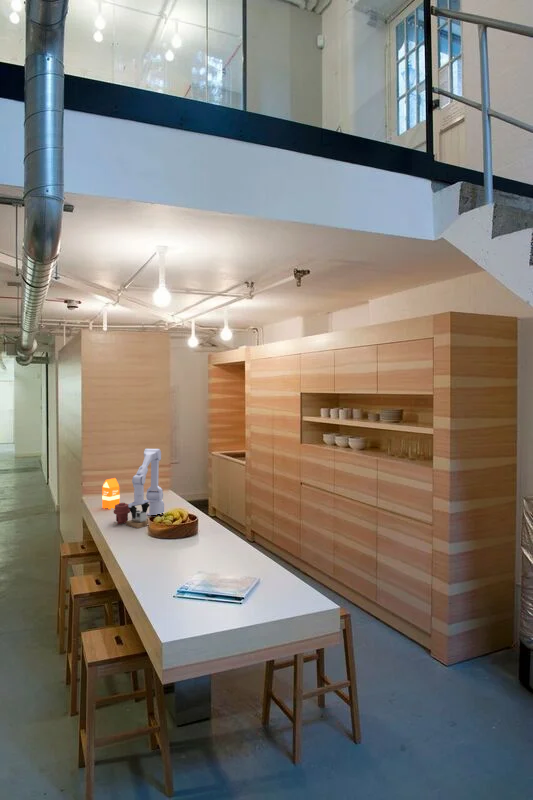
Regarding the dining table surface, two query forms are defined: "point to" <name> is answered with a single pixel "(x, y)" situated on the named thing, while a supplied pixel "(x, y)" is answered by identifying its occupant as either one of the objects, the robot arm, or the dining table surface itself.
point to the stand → (137, 523)
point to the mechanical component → (121, 512)
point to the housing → (140, 516)
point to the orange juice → (110, 493)
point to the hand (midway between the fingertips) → (139, 516)
